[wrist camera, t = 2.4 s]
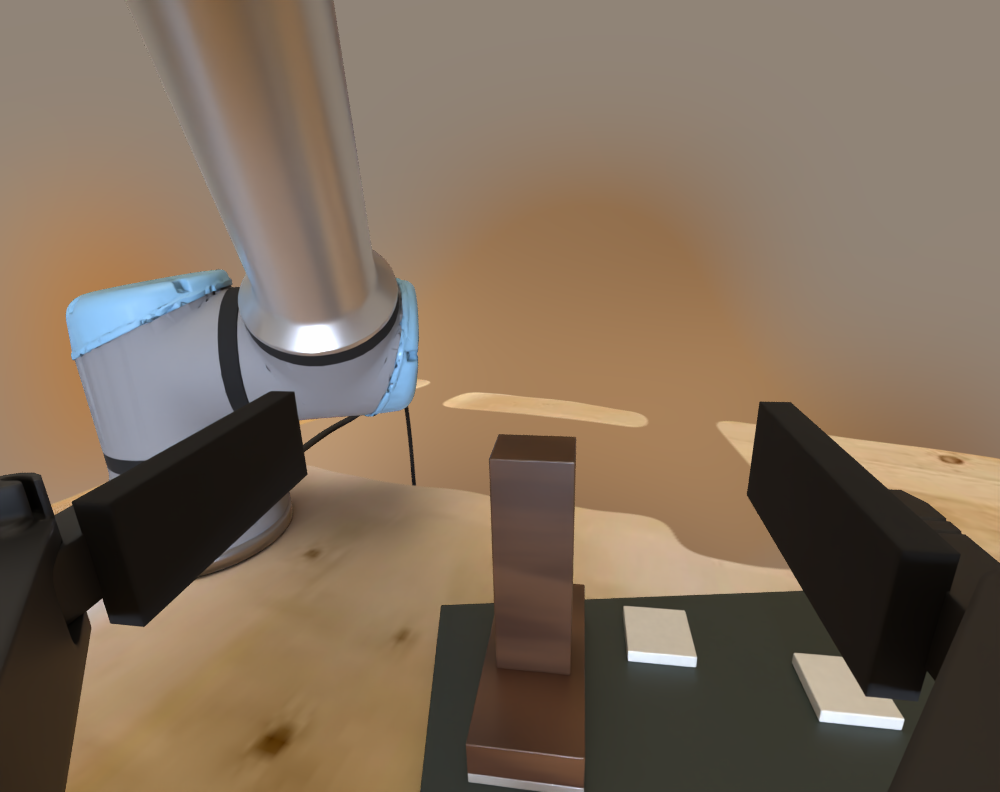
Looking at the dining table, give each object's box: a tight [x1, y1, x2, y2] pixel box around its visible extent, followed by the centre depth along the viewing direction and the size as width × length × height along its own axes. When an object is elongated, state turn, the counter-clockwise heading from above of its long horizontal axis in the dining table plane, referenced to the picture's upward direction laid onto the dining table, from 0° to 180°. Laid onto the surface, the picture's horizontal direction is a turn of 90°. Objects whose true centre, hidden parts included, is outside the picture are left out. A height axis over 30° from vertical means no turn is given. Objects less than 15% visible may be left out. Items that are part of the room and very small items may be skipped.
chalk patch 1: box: [623, 606, 697, 667], centre depth 33 cm, size 4×4×1 cm
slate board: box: [420, 591, 935, 792], centre depth 31 cm, size 14×34×2 cm, turn 92°
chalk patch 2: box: [792, 653, 904, 730], centre depth 29 cm, size 4×4×1 cm
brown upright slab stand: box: [466, 434, 585, 792], centre depth 28 cm, size 12×6×15 cm, turn 172°
